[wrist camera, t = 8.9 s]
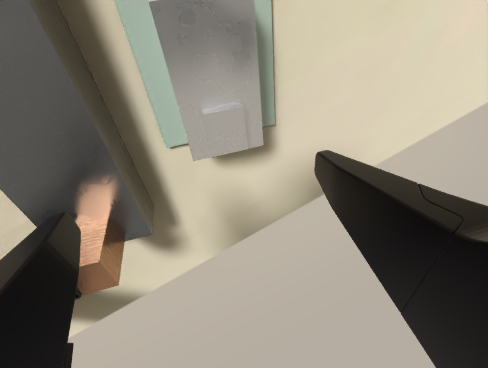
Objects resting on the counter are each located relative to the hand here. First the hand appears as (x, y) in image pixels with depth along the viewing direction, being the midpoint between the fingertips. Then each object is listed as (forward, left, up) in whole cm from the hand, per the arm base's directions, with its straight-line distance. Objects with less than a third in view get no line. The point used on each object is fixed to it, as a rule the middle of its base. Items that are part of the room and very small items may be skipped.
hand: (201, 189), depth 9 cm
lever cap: (+1, -2, -11) cm, 12 cm away
